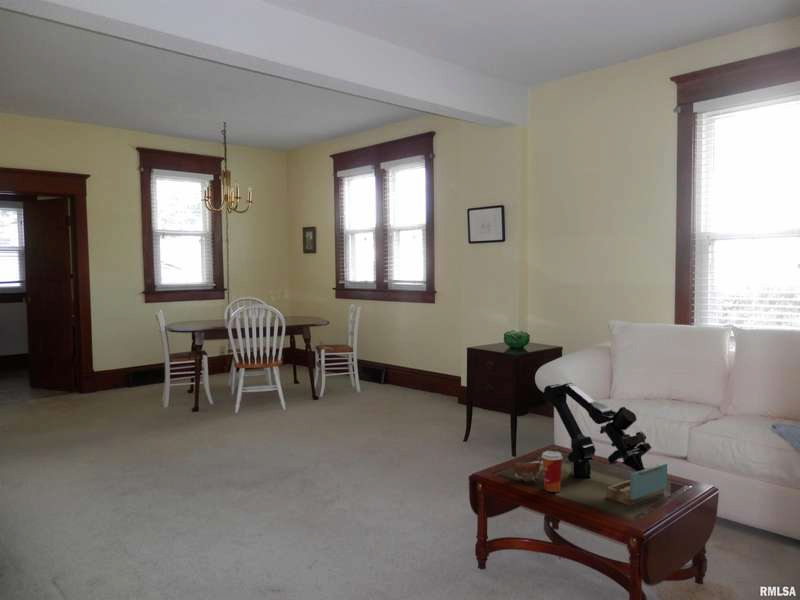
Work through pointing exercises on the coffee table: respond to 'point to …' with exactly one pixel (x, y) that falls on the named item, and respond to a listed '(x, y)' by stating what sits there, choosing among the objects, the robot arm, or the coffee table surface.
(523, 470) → the bull figurine
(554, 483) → the paper cup
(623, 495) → the tray
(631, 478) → the tailgate
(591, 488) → the coffee table surface
